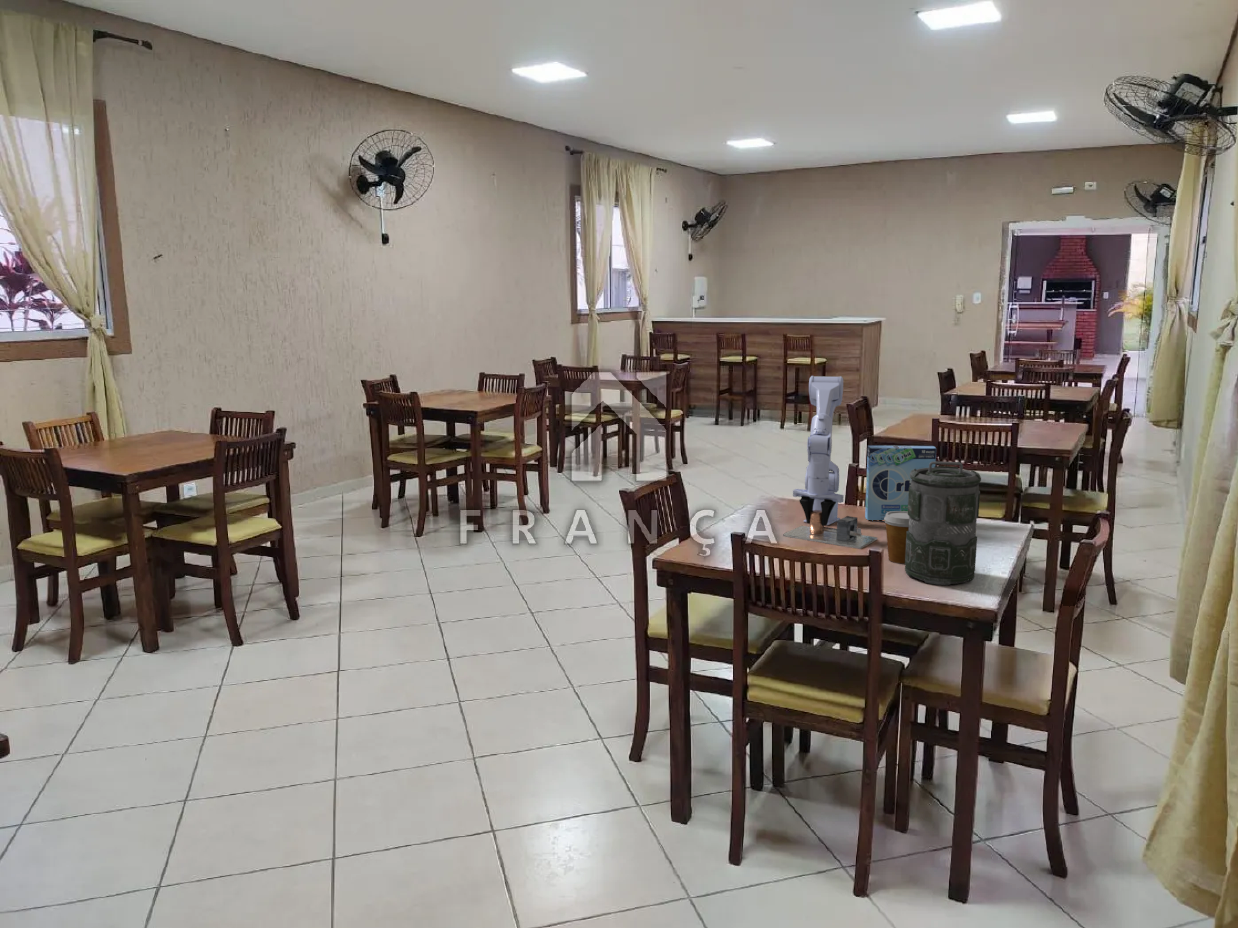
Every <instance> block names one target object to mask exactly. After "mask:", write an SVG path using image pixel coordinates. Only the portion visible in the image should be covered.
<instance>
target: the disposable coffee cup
mask: <svg viewBox="0 0 1238 928" xmlns="http://www.w3.org/2000/svg"><path fill="white" fill-rule="evenodd" d="M884 520H885V521H884V523H885V532H886V544H887V555H888V561H890V562H891V563H895V564H902V565H903V564H904V565H905V552H906V533H907V531H909V515H908V511H891V512H887V513H886V516H885V517H884Z"/></svg>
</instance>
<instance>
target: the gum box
mask: <svg viewBox="0 0 1238 928" xmlns="http://www.w3.org/2000/svg"><path fill="white" fill-rule="evenodd" d="M936 458H937V448H936V446H934V445H884V444H883V445H881V444H880V445H877V444H876V445H875V444H874V445H872V444H870V445H869V444H868V445H867V460H866V464H867V465H866V488H865V511H864V512H865V513H864V518H865V520H866V519H867V520H872V521H871V522H874V521H873V520H884V517H885V516H886V513H887V512H891V511H908V495H909V487H910V486H911V480H912V479H911V478H910V473H911V471H912V470H913V469H916V470H917V469H921V468H929V464H930V463H931V462H937V459H936ZM935 466H936V464H932V467H935ZM867 520H866V521H867Z"/></svg>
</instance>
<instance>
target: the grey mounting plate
mask: <svg viewBox="0 0 1238 928" xmlns="http://www.w3.org/2000/svg"><path fill="white" fill-rule="evenodd" d="M857 528H858V517H855V516H850V515H847V516H844V517H842V518H840V520H838V521H836V529H837V533H833V532H827V531H824V533H823V534H811V533H810V526H807V525H800V526H798V527H795V528H793V529H791V530H789V531H786V532H784V533H783V534H782V537H786V538H792V539H799V540H805V541H811V542H816V543H823V544H828V545H836V546H839V547H840V546H841V547H845V548H846V547H847V548H853V549H858V550H862V549H863V548H865V547H867V546H869V545H871V544H872V543H873V542H875V541H877V540H878V537H877V536H870V535H864V534H862V535H861V537H858V536H852V535H850V531H855V532H857Z"/></svg>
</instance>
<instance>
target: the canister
mask: <svg viewBox="0 0 1238 928" xmlns="http://www.w3.org/2000/svg"><path fill="white" fill-rule="evenodd" d="M932 464H935V467H932ZM941 465H942V466H941ZM943 465H944V466H943ZM945 465H946V466H945ZM948 465H949V466H948ZM950 465H952V466H950ZM957 466H959V467H957ZM910 478H911V479H912V480H911V486H910V487H909V495H908V515H909V531H907V533H906V552H905V564H904V572H905V574H907V576H908V577H910V578H912V579H913V578H914V579H916V580H920V581H924V583H926V584H930V585H935V586H936V585H938V586H951V585H956V584H962V583H963V584H964V583H965V582H971V581H973V580H974V578H975V574H976V573H975V571H976V561H977V546H978V545H977V544H978V536H976V531H977V522H978V521H977V519H979V513H980V512H979V511H980V500H981V499H980V498H981V491H980V489H979V488H980V485H979V484H980V483H981V482H982V477H981V475H980V473H979V472H977V471H975V470H973V469H971V470H967V469H964V465H963V463H962V462H960V461H958V462H957V461H936V462H931V463H930V464H929V468H921V469H917V470H916V469H913V470H912V471H911V473H910Z"/></svg>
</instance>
